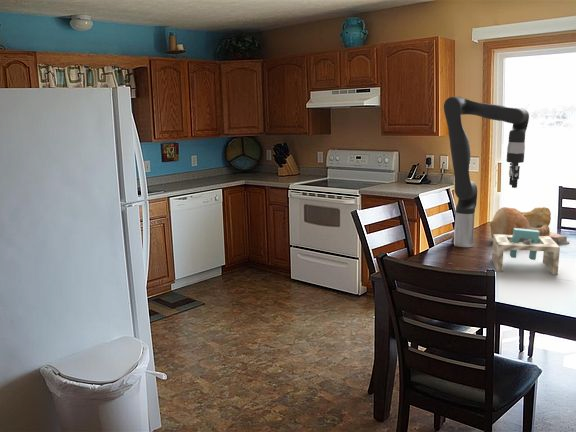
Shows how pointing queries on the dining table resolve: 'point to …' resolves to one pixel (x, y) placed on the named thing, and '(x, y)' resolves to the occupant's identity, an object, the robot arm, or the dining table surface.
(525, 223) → the orange-brown rounded sculpted piece
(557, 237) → the packaged product
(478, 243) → the dining table surface
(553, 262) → the shelf
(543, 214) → the rough brown rock
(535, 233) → the teal arch block
